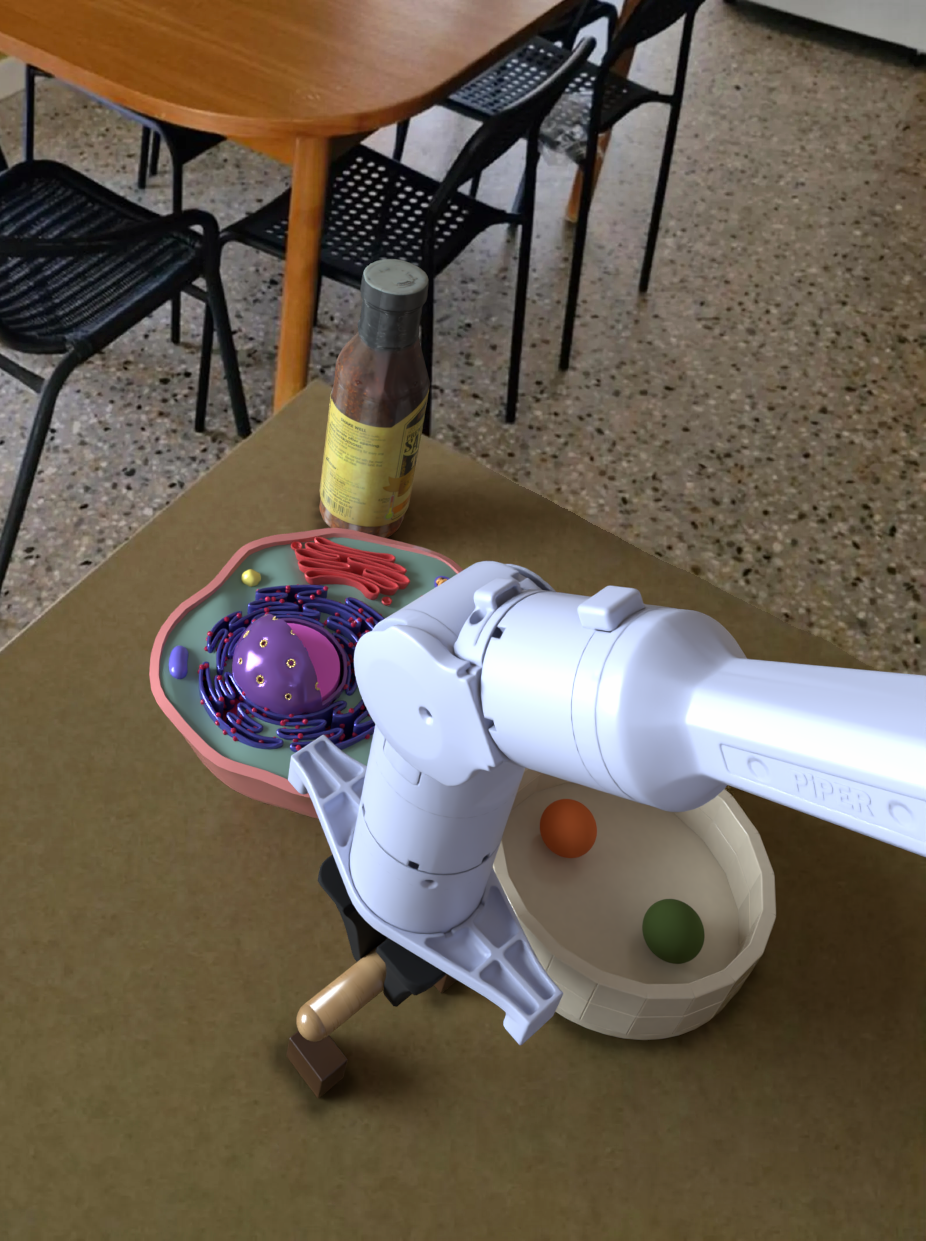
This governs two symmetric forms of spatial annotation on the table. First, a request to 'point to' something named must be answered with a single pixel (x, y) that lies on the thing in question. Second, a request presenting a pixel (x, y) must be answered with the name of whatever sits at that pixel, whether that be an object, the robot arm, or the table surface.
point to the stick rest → (327, 1055)
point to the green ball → (673, 931)
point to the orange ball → (568, 828)
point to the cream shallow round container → (638, 906)
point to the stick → (342, 997)
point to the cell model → (283, 652)
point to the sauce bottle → (377, 405)
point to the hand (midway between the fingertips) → (390, 970)
